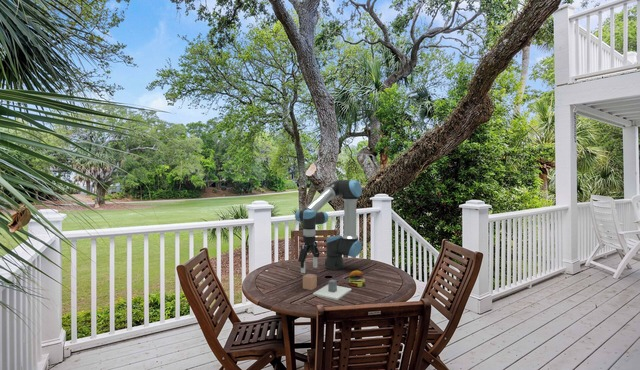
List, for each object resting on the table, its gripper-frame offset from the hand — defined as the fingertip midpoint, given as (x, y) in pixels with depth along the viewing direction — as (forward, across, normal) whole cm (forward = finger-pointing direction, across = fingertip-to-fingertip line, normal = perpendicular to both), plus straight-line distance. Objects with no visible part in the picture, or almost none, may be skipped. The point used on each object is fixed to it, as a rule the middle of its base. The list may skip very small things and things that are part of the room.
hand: (309, 270), depth 208 cm
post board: (+11, 0, +16) cm, 20 cm away
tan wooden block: (+11, 0, 0) cm, 11 cm away
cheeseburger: (+11, -20, +22) cm, 32 cm away
